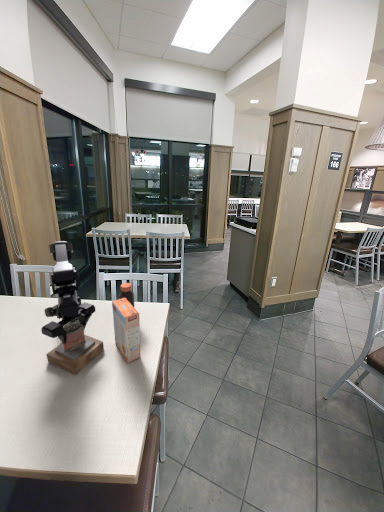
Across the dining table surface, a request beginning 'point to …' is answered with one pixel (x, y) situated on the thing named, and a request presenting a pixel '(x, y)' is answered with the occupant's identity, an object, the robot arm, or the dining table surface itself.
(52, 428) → the dining table surface
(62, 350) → the walnut base
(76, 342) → the lighter
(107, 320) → the dining table surface
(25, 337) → the dining table surface
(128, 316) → the cracker box
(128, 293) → the bottle
